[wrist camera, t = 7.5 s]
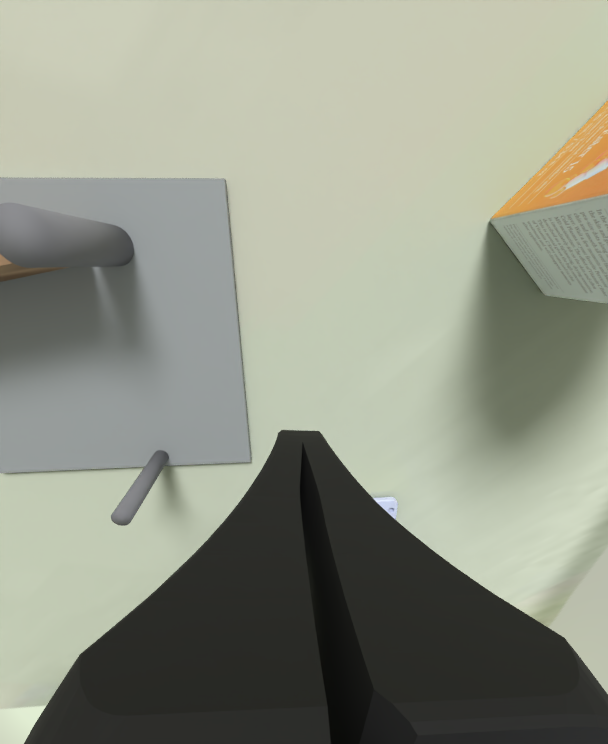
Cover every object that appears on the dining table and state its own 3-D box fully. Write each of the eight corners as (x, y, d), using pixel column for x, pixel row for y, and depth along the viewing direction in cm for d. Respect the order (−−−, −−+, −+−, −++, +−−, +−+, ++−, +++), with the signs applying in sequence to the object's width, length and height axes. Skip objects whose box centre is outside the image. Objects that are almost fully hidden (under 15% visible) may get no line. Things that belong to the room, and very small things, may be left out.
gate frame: (-135, 179, 14) (-428, 121, 8) (226, 180, 14) (187, 128, 9) (2, 469, 20) (-111, 551, 14) (251, 458, 21) (238, 531, 15)
